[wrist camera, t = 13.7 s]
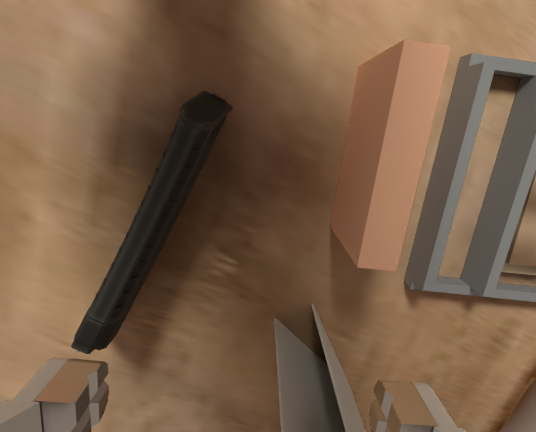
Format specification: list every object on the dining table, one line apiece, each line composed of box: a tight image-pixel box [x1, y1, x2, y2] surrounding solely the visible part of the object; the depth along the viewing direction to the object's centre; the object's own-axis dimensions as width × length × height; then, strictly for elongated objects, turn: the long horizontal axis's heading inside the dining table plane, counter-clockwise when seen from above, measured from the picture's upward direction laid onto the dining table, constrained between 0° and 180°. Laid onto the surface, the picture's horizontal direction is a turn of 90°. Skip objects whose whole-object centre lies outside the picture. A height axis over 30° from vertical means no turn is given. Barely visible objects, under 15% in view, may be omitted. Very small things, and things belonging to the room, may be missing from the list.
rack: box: [404, 53, 536, 302], centre depth 37 cm, size 26×19×4 cm
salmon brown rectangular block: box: [330, 40, 451, 271], centre depth 33 cm, size 18×4×12 cm, turn 173°
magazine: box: [71, 91, 232, 354], centre depth 35 cm, size 17×3×30 cm
